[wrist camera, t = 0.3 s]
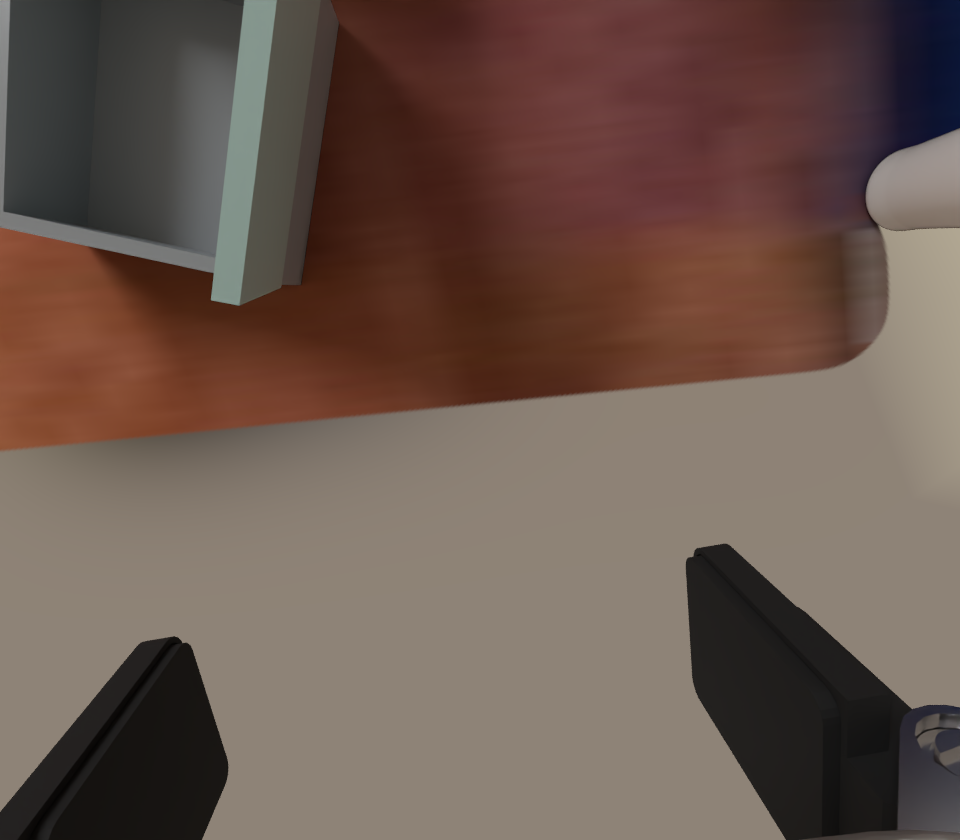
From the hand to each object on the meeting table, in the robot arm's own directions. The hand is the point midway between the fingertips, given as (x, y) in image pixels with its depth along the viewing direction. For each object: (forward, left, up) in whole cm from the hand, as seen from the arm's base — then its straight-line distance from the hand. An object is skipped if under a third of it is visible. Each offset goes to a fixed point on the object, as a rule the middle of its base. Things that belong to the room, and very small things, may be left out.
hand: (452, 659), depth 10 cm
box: (-13, -18, -31) cm, 37 cm away
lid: (-13, -9, -16) cm, 22 cm away
